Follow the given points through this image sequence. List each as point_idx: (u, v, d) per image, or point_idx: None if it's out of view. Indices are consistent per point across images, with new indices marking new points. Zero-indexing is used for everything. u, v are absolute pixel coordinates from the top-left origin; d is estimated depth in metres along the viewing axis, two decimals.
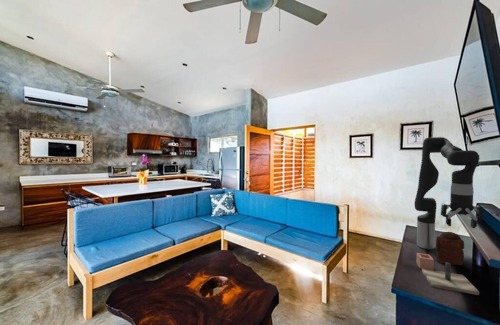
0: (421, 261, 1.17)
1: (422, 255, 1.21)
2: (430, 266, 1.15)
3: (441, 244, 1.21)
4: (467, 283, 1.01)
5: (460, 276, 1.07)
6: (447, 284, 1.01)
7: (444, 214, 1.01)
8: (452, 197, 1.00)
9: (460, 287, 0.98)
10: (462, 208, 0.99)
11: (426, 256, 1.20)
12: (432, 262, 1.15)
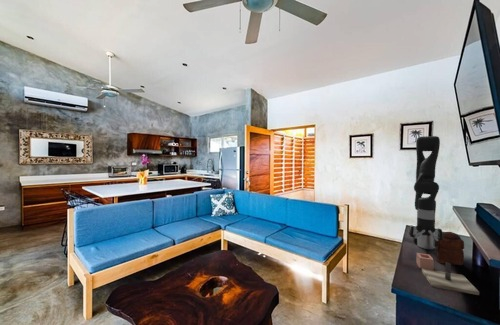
0: (421, 261, 1.17)
1: (422, 255, 1.21)
2: (430, 266, 1.15)
3: (441, 244, 1.21)
4: (467, 283, 1.01)
5: (460, 276, 1.07)
6: (447, 284, 1.01)
7: (411, 234, 1.19)
8: (418, 220, 1.18)
9: (460, 287, 0.98)
10: (426, 230, 1.17)
11: (426, 256, 1.20)
12: (432, 262, 1.15)
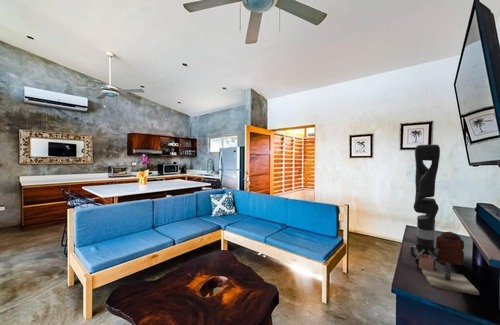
0: (421, 261, 1.17)
1: (422, 255, 1.21)
2: (430, 266, 1.15)
3: (441, 244, 1.21)
4: (467, 283, 1.01)
5: (460, 276, 1.07)
6: (447, 284, 1.01)
7: (413, 255, 1.20)
8: (417, 239, 1.19)
9: (460, 287, 0.98)
10: (425, 249, 1.17)
11: (426, 256, 1.20)
12: (432, 262, 1.15)
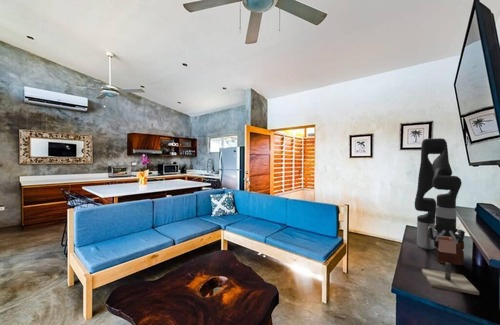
0: (441, 243, 1.03)
1: (442, 238, 1.07)
2: (452, 249, 1.02)
3: None
4: (467, 283, 1.01)
5: (460, 276, 1.07)
6: (447, 284, 1.01)
7: (432, 237, 1.06)
8: (437, 219, 1.05)
9: (460, 287, 0.98)
10: (446, 230, 1.04)
11: (447, 239, 1.06)
12: (455, 245, 1.01)
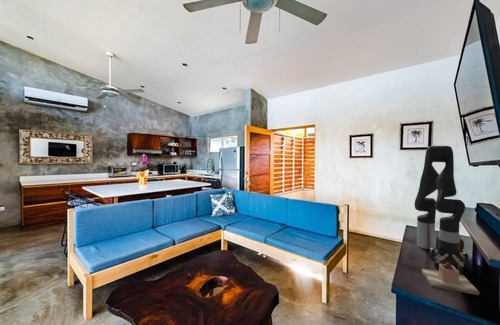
0: (444, 273, 1.03)
1: None
2: (455, 279, 1.01)
3: None
4: (467, 283, 1.01)
5: (460, 276, 1.07)
6: (447, 284, 1.01)
7: (432, 258, 1.06)
8: (440, 243, 1.04)
9: (460, 287, 0.98)
10: (449, 254, 1.03)
11: None
12: (458, 275, 1.01)
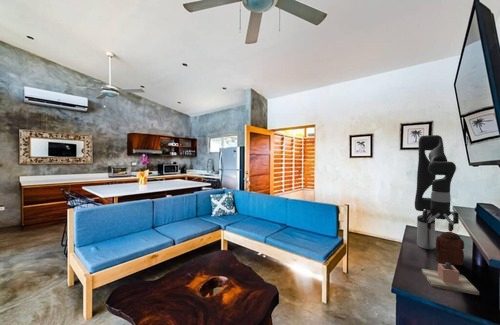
0: (444, 273, 1.03)
1: None
2: (455, 279, 1.01)
3: (441, 244, 1.21)
4: (467, 283, 1.01)
5: (460, 276, 1.07)
6: (447, 284, 1.01)
7: (425, 219, 1.12)
8: (432, 203, 1.10)
9: (460, 287, 0.98)
10: (440, 213, 1.09)
11: None
12: (458, 275, 1.01)
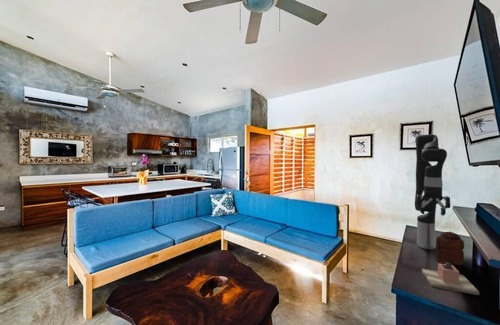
0: (444, 273, 1.03)
1: None
2: (455, 279, 1.01)
3: (441, 244, 1.21)
4: (467, 283, 1.01)
5: (460, 276, 1.07)
6: (447, 284, 1.01)
7: (418, 204, 1.17)
8: (425, 189, 1.16)
9: (460, 287, 0.98)
10: (433, 198, 1.15)
11: None
12: (458, 275, 1.01)
